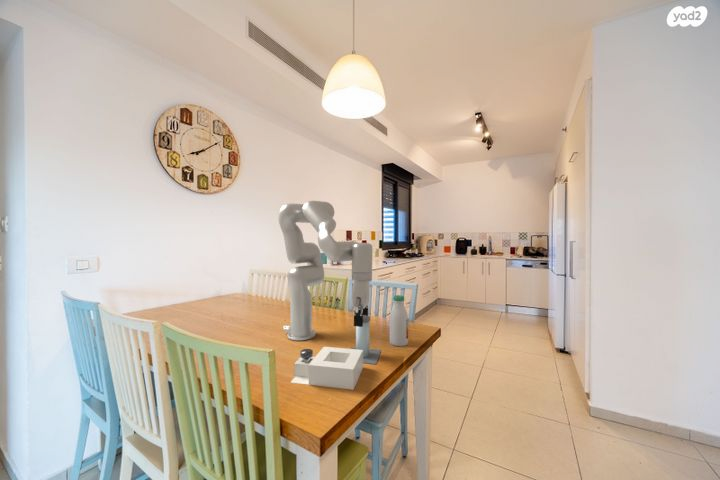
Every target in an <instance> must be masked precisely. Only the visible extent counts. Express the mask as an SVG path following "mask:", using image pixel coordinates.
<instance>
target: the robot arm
mask: <svg viewBox="0 0 720 480" xmlns="http://www.w3.org/2000/svg"><path fill="white" fill-rule="evenodd" d="M334 216H335V208H334V206H333V205H332V204H331V203H330V202H328V201H324V200H323V201H321V200H308V201H306V202H305V203H304V204H302V203H286V204H284V205H282V206H281V208H280V210H279V212H278V224H279V227H280V229H281V232H282V234H283V241H284V247H285V251H286V257H287V260H288V262H289V263H290V264H293V265H298V264H307V265H300V266H295V267H293V268H291V269H290V270H289V271H288V272H287V284H288V287H289V302H290V303H289V304H290V305H289V308H290V313H289V314H290V316H289V318H290V325H288V324H287V325H286V324H284V325H283V327H282V331H284V332H287V334H286V337H287V339H289V340H290V341H296V342H297V341H298V342H299V341H307V340H310V339H313V338H314V337H316V331H315V330H314V329H313V313H312V312H313V309H312V307H313V304H312V303H313V301H312V293H311V292H310V290H309V289H308V287H311V286H317V285H320V284H321V283H322V282H323V281H324V280H325V270H324V265H323V259H322V253H323V255H325V256H326V258H328V259H329V260H330V261H332V262H334V263H340V262H341V263H342V262H350V261H351V281H352V283H353V284H352V289H351V308H352V309H354V310H353V326H354V327H356V326H357V327H362V326H363V315H367V316H369V303H370V282H372V281H373V245H372V244H371V243H369V242H356V241H345V240H344V241H336V239H335V238H334V237H332V235H331V234H332V233H333V232H334V231H335V229H336V228H337V227H336V226H337V222H336V220H335V219H334ZM297 223H300V224H301V223H306V224H311V226H312V227H313V228H314V230H315V231H316V232H317V233H318V234H317V242H318V243H317V244H318V245H317V244H316V243H314V242H305V240H304V237H303V236H304V235H303V232H302V230H301V228H300V227H299V226H298V225H297ZM321 251H322V253H321Z"/></svg>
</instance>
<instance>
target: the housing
mask: <svg viewBox="0 0 720 480" xmlns="http://www.w3.org/2000/svg"><path fill="white" fill-rule="evenodd" d="M293 366H294V367H293V371H294V373H293V374H294V377H293V378H292V379H291V381H290V382H289V383H291V384H292V383H293V384H299V385H310V386H318V387H326V388H335V389H345V390H352V391H353V390H354V389H355V388H356V387H355V386H356V385H357V383H358V381H359V378H360V375H361V374H362V371H363V369H364V363H363V350H357V349H350V348H344V347H343V348H342V347H333V346H332V347H331V346H322V348H321V349H320V351H319V352H318V353H317V354H315V356H312V357H311V358H310V362H309V363H307V362H304V358H301V357H299V358H298V359H297V360H296V361H295V362H294V364H293Z"/></svg>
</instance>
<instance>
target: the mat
mask: <svg viewBox="0 0 720 480" xmlns="http://www.w3.org/2000/svg"><path fill="white" fill-rule="evenodd" d="M349 349H356V347H350V348H349ZM381 353H382V349H377V348H375V349H373V348H369V357H366V358H363V365H364V364H366V365H374V366H375V365H377V363H378V360H379V357H380V354H381Z"/></svg>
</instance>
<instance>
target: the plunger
mask: <svg viewBox="0 0 720 480" xmlns="http://www.w3.org/2000/svg"><path fill="white" fill-rule="evenodd" d="M299 353H300V354H299V355H300V357H301V358H304V362H307V363H309V362H310V358H311V357H314V353H313V349H311V348H304V349H301V350H300V352H299ZM300 357H299V358H300Z"/></svg>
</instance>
